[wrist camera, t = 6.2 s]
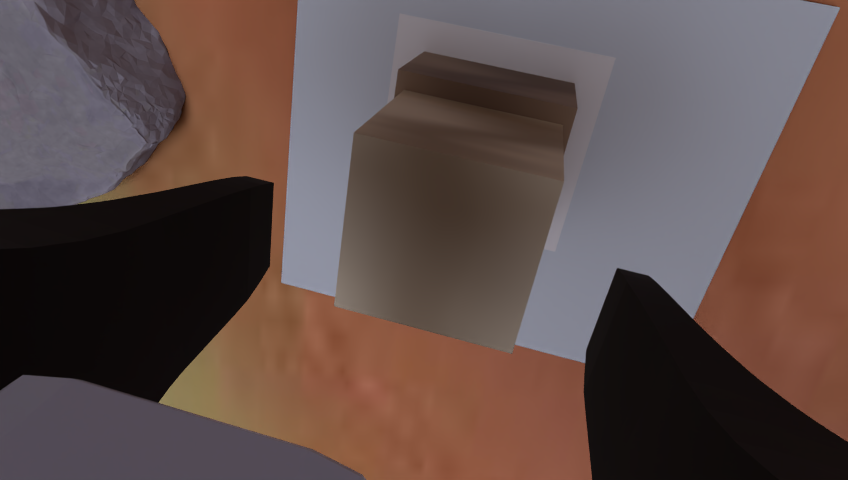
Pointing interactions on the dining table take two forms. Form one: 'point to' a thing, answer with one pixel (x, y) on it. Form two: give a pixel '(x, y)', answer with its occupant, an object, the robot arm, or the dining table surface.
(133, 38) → the stone block
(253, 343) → the dining table surface
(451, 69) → the walnut block
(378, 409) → the dining table surface
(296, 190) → the mat
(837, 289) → the dining table surface
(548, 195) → the maple cube
